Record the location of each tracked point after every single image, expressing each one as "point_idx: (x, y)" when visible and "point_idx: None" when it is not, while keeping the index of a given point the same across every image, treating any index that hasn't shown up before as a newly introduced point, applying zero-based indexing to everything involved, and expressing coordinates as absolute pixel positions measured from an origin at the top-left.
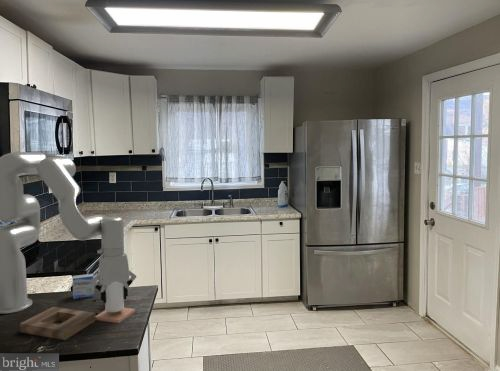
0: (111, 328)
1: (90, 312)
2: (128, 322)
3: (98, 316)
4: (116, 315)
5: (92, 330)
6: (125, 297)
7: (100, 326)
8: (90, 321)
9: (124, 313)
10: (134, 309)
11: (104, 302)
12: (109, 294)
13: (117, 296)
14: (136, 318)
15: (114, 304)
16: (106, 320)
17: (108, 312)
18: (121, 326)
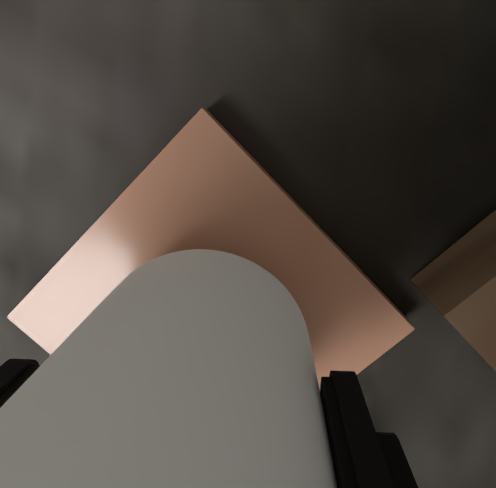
0: (297, 13)
1: (484, 352)
2: (110, 80)
3: (377, 319)
4: None
5: (486, 66)
6: (5, 373)
7: (390, 127)
8: (477, 241)
9: (121, 263)
10: (15, 310)
11: (344, 374)
12: (270, 419)
13: (113, 342)
14: (23, 141)
15: (204, 283)
16: (313, 221)
17: None
18: (192, 11)
